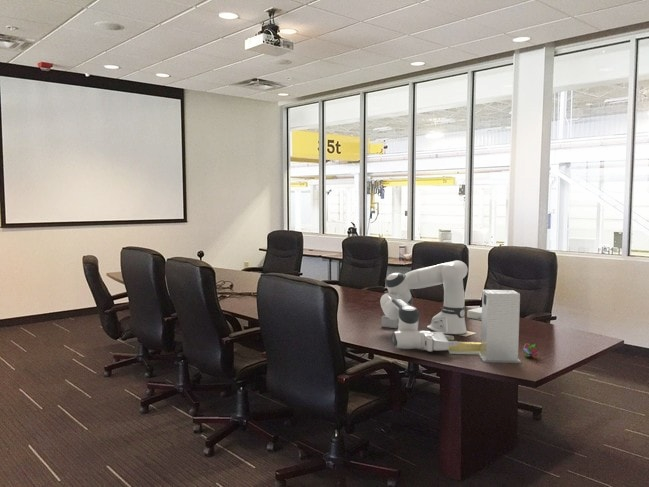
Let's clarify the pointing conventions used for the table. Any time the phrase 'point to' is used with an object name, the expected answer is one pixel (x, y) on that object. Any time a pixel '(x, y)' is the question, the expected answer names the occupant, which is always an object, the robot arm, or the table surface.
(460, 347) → the brass bar
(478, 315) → the disc drive
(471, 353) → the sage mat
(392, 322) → the coffee box
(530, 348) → the geometric puzzle
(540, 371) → the table surface
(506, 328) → the rack post
